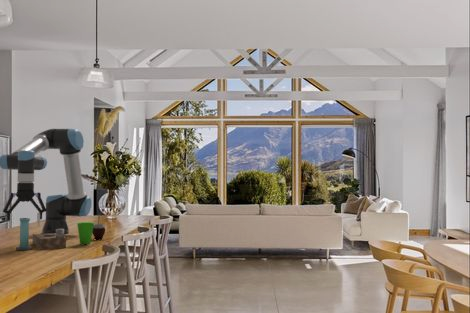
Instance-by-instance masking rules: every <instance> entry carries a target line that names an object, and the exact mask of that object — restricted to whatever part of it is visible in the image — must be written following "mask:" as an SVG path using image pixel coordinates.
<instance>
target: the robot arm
mask: <svg viewBox="0 0 470 313" xmlns="http://www.w3.org/2000/svg"><path fill="white" fill-rule="evenodd" d="M84 142H85V141H84V137H83V134H82V132H81V131H80V130H79V129H76V128H49V129H46V130H43V131H41V132H39V133H38V134H36V135H35V136H33V138H32V140H30V141H29V142H27V143H26V144H24V145H23V146H21V147H20V148H18V149H17V150H15V151H13V152H11V153H10V154H7V153H6V154H1V156H0V168H1V169H2V170H8V171H9V170H11V171H12V170H15V171H16V170H17V183H16V185H17V187H16V193H15V192H10V193H9V196H8V200H7V201H6V203H5V206H4V208H3V209H2V212H3V213H5V214H6V221H8V228H9V229H12V227H13V226H12V225H13V213H12V212H13V211H14V209H15V208H16V207H17V206H18V205H19V203H21V202H22V203H23V202H27V203H29V202H31V204H32V205H33V206H34V208H35V209H36V210H37V211H38V212H37V215H36V227H38V228H40V227H41V220H42V219H43V213H44V212H45V221H44V224H43V227H42V230H41V234H47V233H56V229H64V235H66V234H69V232H70V229H69V224H68V223H67V217H79V218H80V217H87V216H88V215H89V213H90V211H91V209H92V204H93V203H92V198H91V197H90V196H88V194H87V192H86V191H85V190H84V184H83V178H82V169H81V163H80V153H81V152H82V151H81V150H82V149H83V147H84ZM47 150H59V154H60V155H61V156H62V158H63V163H64V164H63V165H64V170H65V178H66V184H67V192H68V193H67V194H66V193H63V194H54V195H47V197H46V199H45V200H46V201H45V204H44V201H43V199H42V197H41V196H42V194H41V192H35V190H34V189H35V188H34V187H35V184H34V182H35V171H40V170H44V169H45V168H47V164H48V161H47V160H48V159H47V158H46V157H45V156H43V155H40V154H39V153H41V152H44V151H47ZM15 196H16V197H17V199H16V200H15V201H14V203H13V204H12V201H13V199H14V198H15ZM34 196H35V198H37V200H38V202H39V204H37V202H36V201H35V199H34ZM11 204H12V205H11ZM10 205H11V206H10ZM39 205H40V206H39ZM9 207H10V208H9Z"/></svg>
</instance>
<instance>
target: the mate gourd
mask: <svg viewBox="0 0 470 313" xmlns="http://www.w3.org/2000/svg"><path fill="white" fill-rule="evenodd" d="M100 218H101V213H98V217H97V220H98V221H97V224H94V227H93V232H92V236H93V237H94V238H93V239H98V240H99V239H102V238H103V237H104V235H105V233H106V227H105V225H104V224H100ZM103 239H104V238H103Z"/></svg>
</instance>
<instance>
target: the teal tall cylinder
mask: <svg viewBox="0 0 470 313" xmlns="http://www.w3.org/2000/svg"><path fill="white" fill-rule="evenodd" d="M30 221H31V218H30V217H22V218H19V222H20V223H19V225H20V226H19V247H20V248H28V247H29V243H30V242H29V239H30V238H29V236H30V235H29V234H30Z"/></svg>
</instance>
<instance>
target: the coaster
mask: <svg viewBox="0 0 470 313" xmlns="http://www.w3.org/2000/svg"><path fill="white" fill-rule="evenodd" d="M32 249H33V247H32V246H28V248H20V246H18V247H16V249H15V250H16V252H17V251H19V252H20V251H21V252H26V251H27V250H28V251H32Z"/></svg>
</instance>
